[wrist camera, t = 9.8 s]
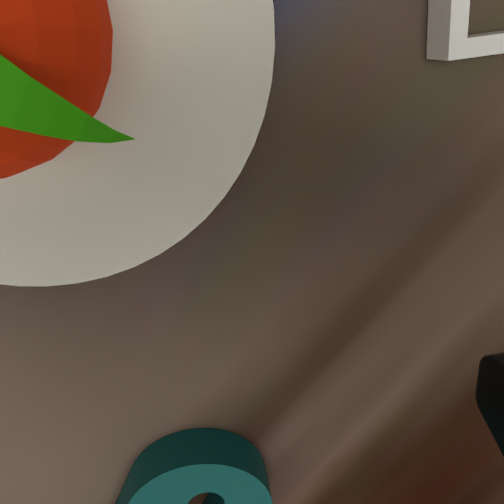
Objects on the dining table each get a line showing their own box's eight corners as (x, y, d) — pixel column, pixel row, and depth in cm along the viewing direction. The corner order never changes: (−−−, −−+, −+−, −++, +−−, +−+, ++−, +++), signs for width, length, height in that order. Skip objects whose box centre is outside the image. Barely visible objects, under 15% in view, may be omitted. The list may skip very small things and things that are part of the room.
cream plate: (236, -346, 12) (240, -378, 11) (289, 237, 19) (294, 247, 18) (-464, -297, 11) (-526, -330, 10) (-136, 306, 17) (-154, 321, 16)
